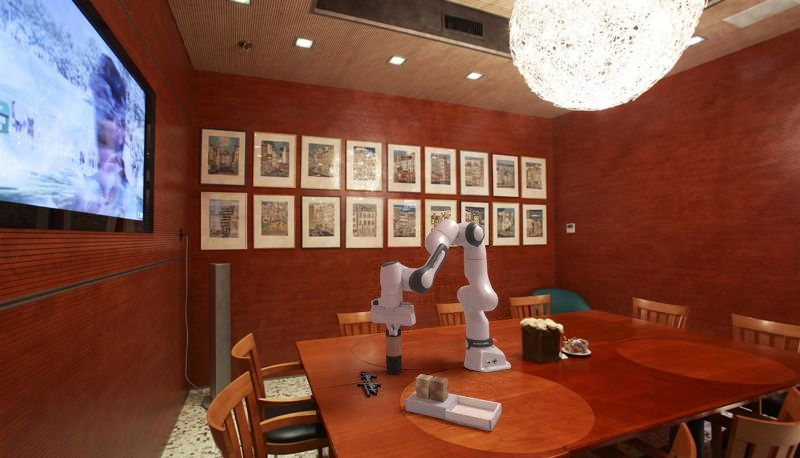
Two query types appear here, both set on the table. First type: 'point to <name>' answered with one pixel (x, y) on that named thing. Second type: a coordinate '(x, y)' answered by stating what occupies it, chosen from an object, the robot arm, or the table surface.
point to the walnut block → (439, 389)
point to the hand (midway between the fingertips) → (393, 335)
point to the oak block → (423, 386)
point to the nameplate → (369, 383)
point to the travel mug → (393, 353)
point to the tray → (475, 413)
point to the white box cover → (431, 405)
